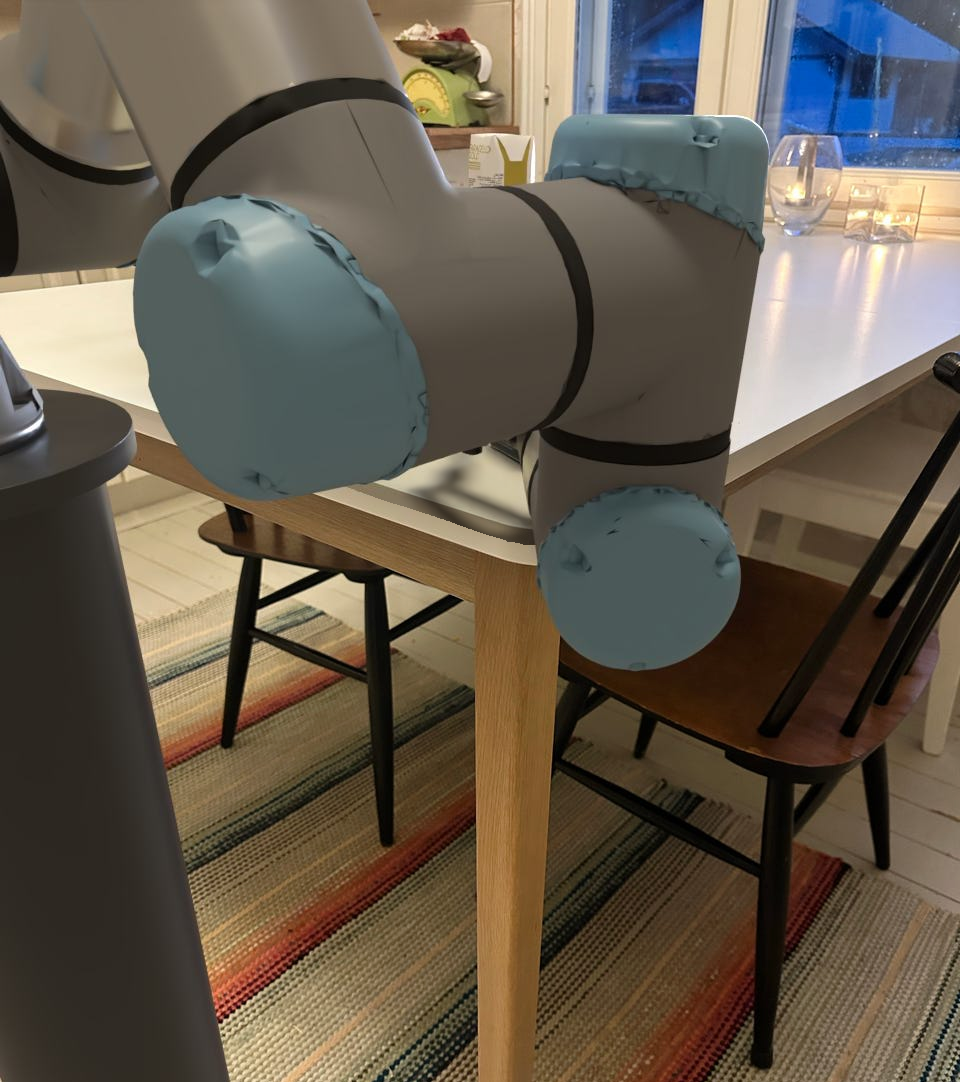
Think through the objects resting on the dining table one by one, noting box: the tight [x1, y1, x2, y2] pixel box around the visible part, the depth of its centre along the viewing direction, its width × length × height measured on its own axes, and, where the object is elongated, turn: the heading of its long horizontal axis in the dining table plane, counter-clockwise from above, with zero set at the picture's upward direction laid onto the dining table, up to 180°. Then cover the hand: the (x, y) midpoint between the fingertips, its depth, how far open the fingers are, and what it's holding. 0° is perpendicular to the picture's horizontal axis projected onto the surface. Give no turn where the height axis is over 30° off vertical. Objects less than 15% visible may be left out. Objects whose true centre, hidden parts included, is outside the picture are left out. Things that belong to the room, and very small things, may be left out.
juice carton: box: [468, 132, 536, 188], centre depth 126 cm, size 8×9×19 cm
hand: (556, 362), depth 65 cm, fingers open, 13 cm apart
